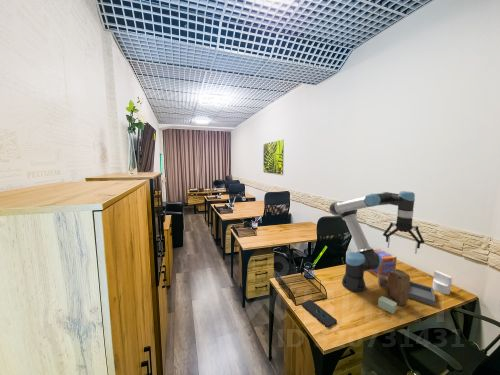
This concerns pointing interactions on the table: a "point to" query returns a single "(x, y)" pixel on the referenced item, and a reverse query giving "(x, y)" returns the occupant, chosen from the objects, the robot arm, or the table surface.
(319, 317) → the smart home device
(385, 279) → the walnut cube
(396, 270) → the block
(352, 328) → the table surface
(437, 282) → the white phone stand
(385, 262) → the game box
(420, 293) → the tray
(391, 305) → the sage brick
